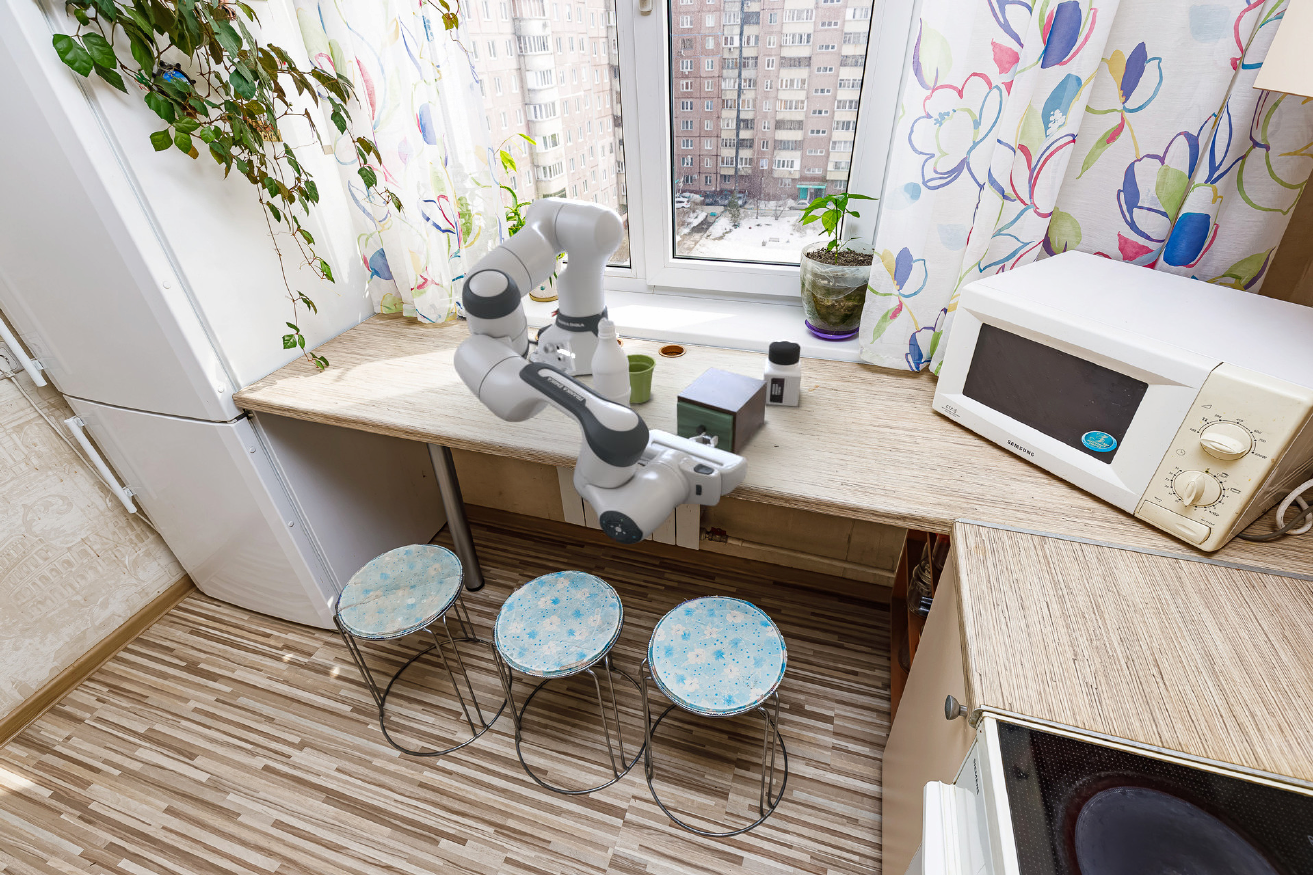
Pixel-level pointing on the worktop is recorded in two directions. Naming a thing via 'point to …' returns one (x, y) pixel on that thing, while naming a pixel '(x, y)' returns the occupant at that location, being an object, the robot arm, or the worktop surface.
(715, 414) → the drawer
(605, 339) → the water bottle
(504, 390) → the robot arm
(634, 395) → the plant pot
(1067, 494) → the worktop surface
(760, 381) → the cabinet
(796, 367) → the container
